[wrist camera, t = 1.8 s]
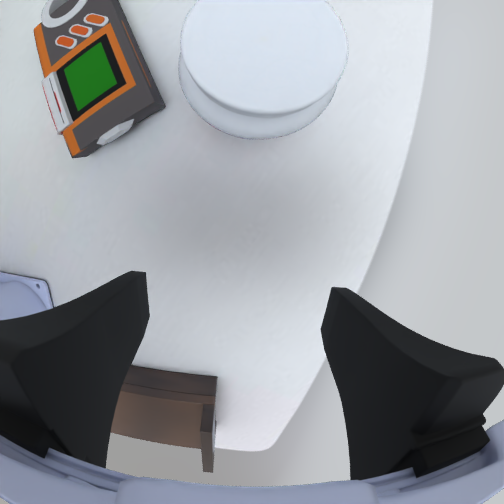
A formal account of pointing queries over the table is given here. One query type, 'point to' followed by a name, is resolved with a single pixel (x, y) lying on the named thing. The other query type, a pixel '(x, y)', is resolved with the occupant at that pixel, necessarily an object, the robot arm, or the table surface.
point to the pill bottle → (261, 63)
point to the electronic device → (92, 73)
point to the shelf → (168, 410)
